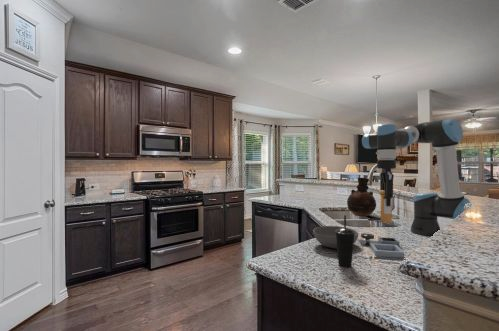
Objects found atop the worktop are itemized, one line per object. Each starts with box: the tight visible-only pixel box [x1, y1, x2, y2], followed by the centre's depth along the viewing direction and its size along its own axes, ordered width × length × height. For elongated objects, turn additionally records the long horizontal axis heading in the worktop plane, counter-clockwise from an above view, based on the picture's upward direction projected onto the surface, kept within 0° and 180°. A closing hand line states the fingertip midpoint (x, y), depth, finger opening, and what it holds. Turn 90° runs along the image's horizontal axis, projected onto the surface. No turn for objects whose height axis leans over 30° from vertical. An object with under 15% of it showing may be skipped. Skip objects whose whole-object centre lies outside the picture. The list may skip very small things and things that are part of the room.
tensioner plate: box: [357, 232, 404, 250], centre depth 136 cm, size 18×12×6 cm, turn 77°
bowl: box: [312, 225, 359, 250], centre depth 137 cm, size 21×21×8 cm
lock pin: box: [378, 189, 393, 224], centre depth 123 cm, size 6×6×14 cm
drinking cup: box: [335, 215, 356, 268], centre depth 112 cm, size 8×8×20 cm
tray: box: [369, 243, 405, 262], centre depth 123 cm, size 11×11×4 cm
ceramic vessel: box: [346, 177, 377, 217], centre depth 218 cm, size 21×18×30 cm
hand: (386, 212), depth 123 cm, fingers closed on lock pin, 4 cm apart
